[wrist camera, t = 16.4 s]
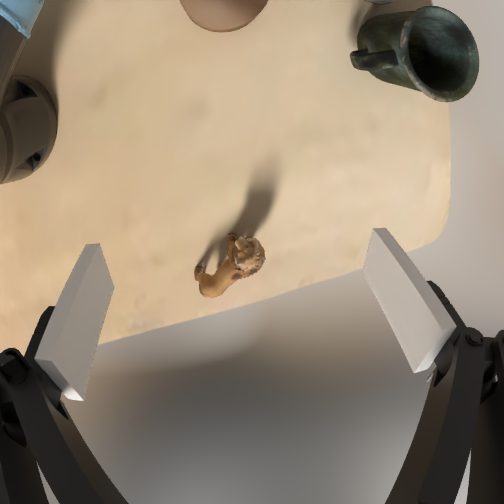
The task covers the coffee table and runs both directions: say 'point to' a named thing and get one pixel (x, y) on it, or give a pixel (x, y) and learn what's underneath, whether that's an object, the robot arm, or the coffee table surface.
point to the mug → (420, 52)
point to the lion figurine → (232, 266)
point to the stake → (223, 13)
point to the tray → (380, 1)
